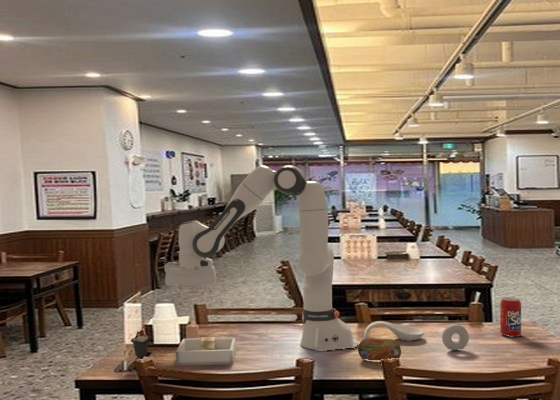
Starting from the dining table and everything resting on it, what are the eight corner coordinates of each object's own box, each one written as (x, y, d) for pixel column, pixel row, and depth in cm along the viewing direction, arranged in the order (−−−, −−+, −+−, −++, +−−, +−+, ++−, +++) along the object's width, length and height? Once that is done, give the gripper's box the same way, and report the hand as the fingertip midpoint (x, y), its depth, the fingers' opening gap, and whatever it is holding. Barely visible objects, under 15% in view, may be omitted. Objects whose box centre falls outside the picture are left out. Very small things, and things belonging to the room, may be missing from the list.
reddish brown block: (199, 341, 233) (199, 324, 232) (198, 344, 228) (197, 327, 227) (187, 341, 233) (187, 324, 232) (185, 345, 228) (185, 327, 227)
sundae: (146, 371, 198) (145, 328, 198) (128, 370, 200) (127, 327, 199) (154, 364, 205) (153, 323, 204) (137, 364, 206) (135, 322, 205)
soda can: (503, 331, 237) (503, 295, 236) (523, 334, 232) (523, 297, 231) (498, 336, 230) (497, 299, 230) (518, 339, 226) (518, 301, 225)
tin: (357, 361, 204) (357, 337, 204) (360, 358, 207) (359, 335, 207) (400, 365, 199) (400, 341, 198) (402, 362, 201) (401, 338, 201)
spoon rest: (421, 335, 235) (420, 318, 235) (426, 343, 223) (426, 325, 223) (362, 335, 236) (362, 318, 236) (365, 344, 224) (365, 326, 224)
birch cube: (215, 349, 217) (215, 336, 217) (214, 354, 212) (214, 340, 212) (202, 350, 217) (202, 337, 217) (200, 354, 212) (200, 341, 212)
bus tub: (235, 350, 219) (235, 337, 219) (232, 364, 203) (232, 350, 203) (183, 351, 219) (183, 338, 219) (176, 365, 203) (175, 351, 203)
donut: (466, 348, 215) (466, 322, 215) (470, 351, 212) (470, 324, 211) (440, 350, 214) (440, 323, 214) (444, 352, 211) (443, 326, 210)
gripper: (162, 263, 225) (163, 298, 226) (214, 262, 226) (215, 296, 226) (165, 260, 232) (166, 294, 232) (216, 259, 232) (217, 293, 233)
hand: (191, 295), depth 229 cm, fingers open, 8 cm apart
